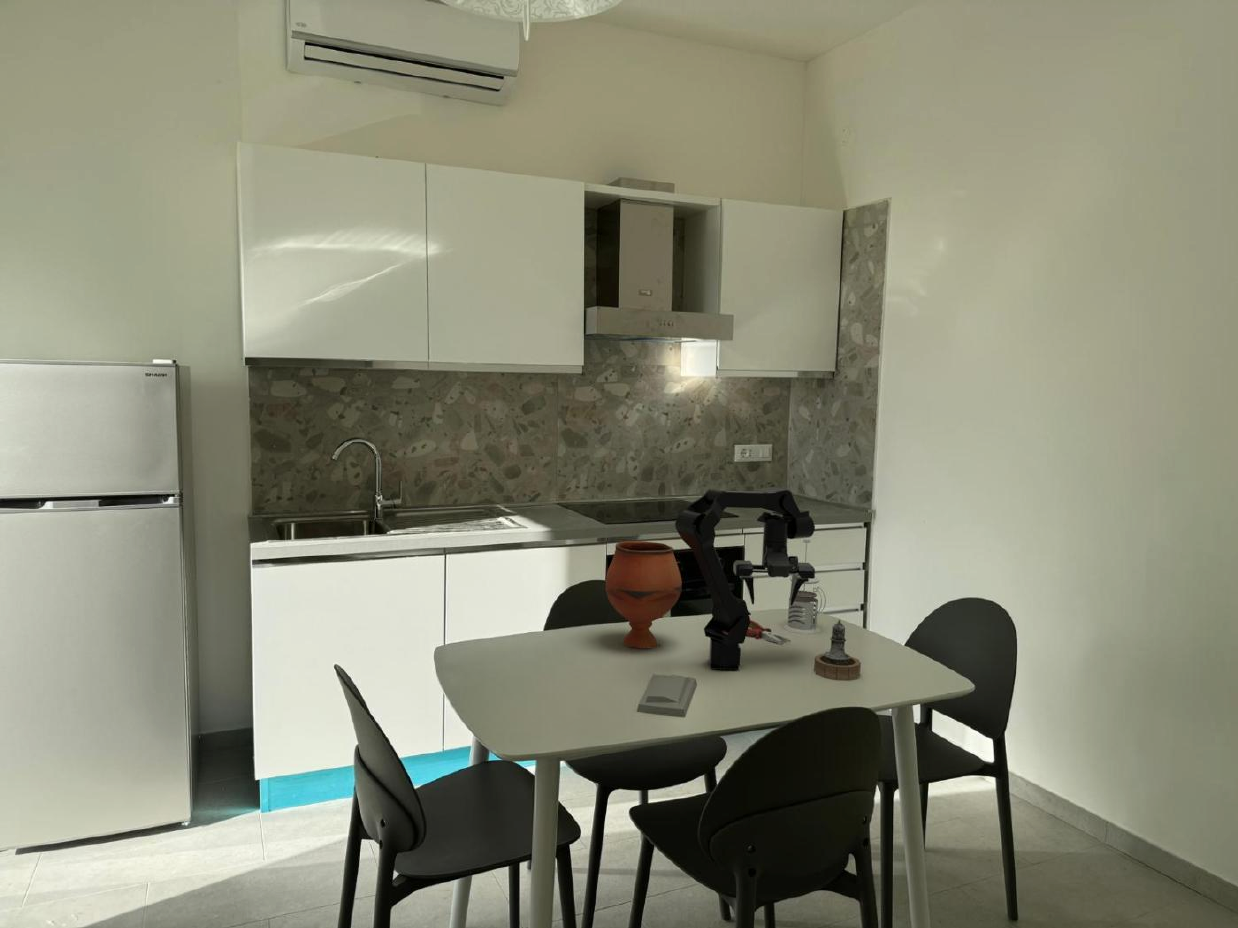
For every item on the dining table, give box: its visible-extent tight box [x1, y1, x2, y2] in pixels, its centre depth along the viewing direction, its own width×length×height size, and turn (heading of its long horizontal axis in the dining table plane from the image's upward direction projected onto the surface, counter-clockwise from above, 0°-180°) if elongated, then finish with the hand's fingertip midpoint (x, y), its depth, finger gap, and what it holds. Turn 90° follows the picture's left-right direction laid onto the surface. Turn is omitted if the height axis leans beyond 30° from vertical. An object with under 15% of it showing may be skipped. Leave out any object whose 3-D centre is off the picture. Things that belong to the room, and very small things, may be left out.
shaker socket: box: [813, 653, 862, 681], centre depth 207 cm, size 10×10×3 cm
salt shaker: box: [823, 619, 851, 666], centre depth 206 cm, size 6×6×12 cm
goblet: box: [605, 540, 683, 649], centre depth 224 cm, size 19×19×25 cm
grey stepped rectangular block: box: [636, 674, 698, 718], centre depth 187 cm, size 10×20×4 cm, turn 168°
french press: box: [783, 537, 827, 635], centre depth 243 cm, size 10×12×25 cm
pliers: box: [723, 619, 792, 645], centre depth 236 cm, size 12×20×3 cm, turn 40°
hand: (771, 604), depth 216 cm, fingers open, 9 cm apart
